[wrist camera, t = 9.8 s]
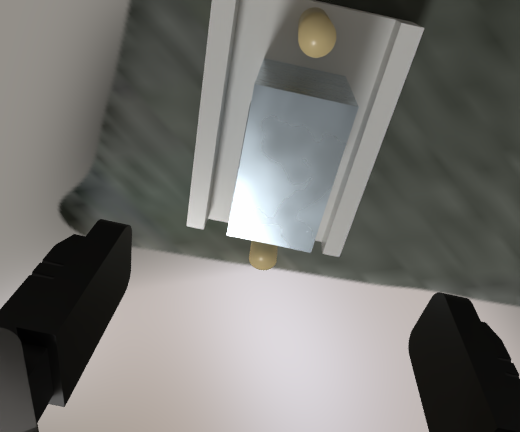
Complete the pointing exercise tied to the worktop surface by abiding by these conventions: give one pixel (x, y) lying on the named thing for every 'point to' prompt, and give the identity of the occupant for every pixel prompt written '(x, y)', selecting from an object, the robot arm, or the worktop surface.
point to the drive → (290, 154)
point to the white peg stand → (306, 55)
